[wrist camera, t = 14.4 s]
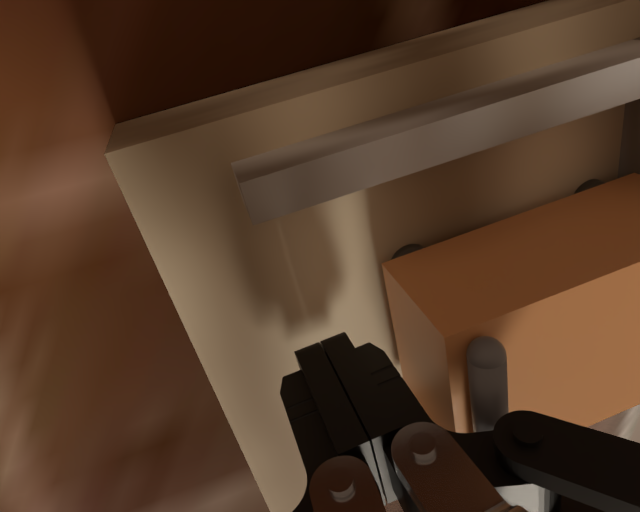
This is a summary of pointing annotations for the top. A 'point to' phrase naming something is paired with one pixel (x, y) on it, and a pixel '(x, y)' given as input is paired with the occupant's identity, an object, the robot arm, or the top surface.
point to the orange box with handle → (525, 313)
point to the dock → (365, 187)
